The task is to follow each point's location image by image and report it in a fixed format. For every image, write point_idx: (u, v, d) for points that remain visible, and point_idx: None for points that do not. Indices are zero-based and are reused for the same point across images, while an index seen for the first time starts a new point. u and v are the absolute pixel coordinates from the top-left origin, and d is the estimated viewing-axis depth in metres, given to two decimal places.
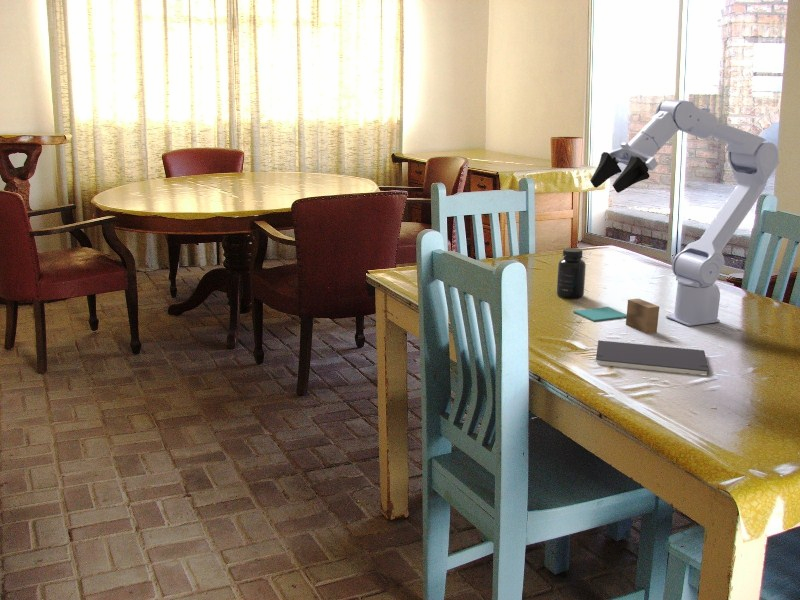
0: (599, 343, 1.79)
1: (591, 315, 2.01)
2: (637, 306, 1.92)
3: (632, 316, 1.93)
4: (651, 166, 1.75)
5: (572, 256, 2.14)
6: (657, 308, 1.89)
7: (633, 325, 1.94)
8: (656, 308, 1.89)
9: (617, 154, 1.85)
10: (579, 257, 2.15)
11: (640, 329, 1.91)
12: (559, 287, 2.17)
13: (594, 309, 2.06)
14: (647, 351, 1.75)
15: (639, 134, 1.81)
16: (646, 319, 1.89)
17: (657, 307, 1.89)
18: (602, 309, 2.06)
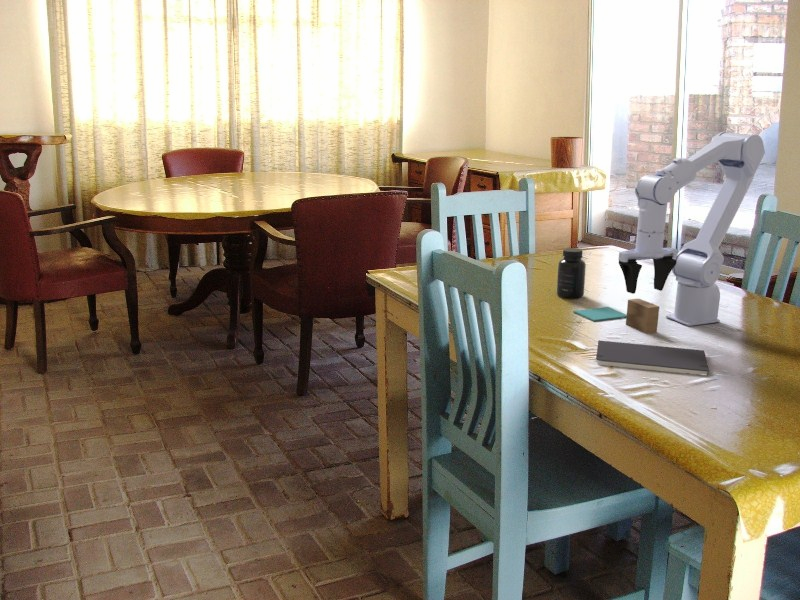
0: (599, 343, 1.79)
1: (591, 315, 2.01)
2: (637, 306, 1.92)
3: (632, 316, 1.93)
4: None
5: (572, 256, 2.14)
6: (657, 308, 1.89)
7: (633, 325, 1.94)
8: (656, 308, 1.89)
9: None
10: (579, 257, 2.15)
11: (640, 329, 1.91)
12: (559, 287, 2.17)
13: (594, 309, 2.06)
14: (647, 351, 1.75)
15: (659, 235, 1.85)
16: (646, 319, 1.89)
17: (657, 307, 1.89)
18: (602, 309, 2.06)
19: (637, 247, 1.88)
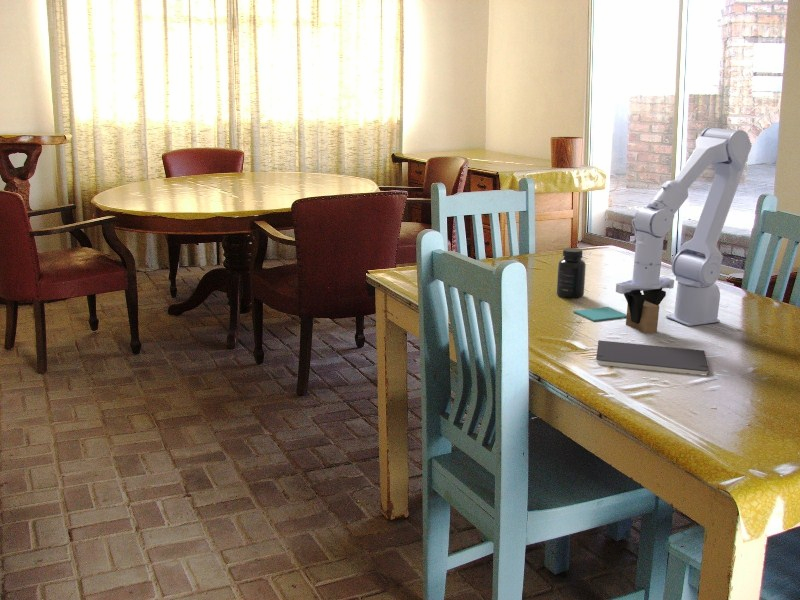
0: (599, 343, 1.79)
1: (591, 315, 2.01)
2: None
3: None
4: None
5: (572, 256, 2.14)
6: (657, 308, 1.89)
7: (633, 325, 1.94)
8: (656, 308, 1.89)
9: None
10: (579, 257, 2.15)
11: (640, 329, 1.91)
12: (559, 287, 2.17)
13: (594, 309, 2.06)
14: (647, 351, 1.75)
15: (655, 267, 1.87)
16: (646, 319, 1.89)
17: (657, 307, 1.89)
18: (602, 309, 2.06)
19: (634, 278, 1.90)
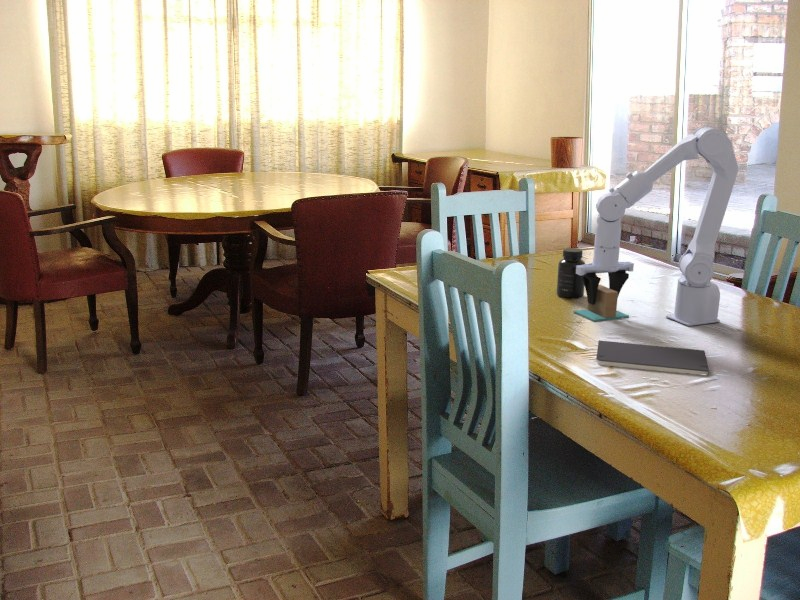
0: (599, 343, 1.79)
1: (591, 315, 2.01)
2: (597, 292, 2.01)
3: None
4: None
5: (572, 256, 2.14)
6: (616, 293, 1.99)
7: (594, 310, 2.03)
8: (615, 294, 1.99)
9: None
10: (579, 257, 2.15)
11: (600, 313, 2.01)
12: (559, 287, 2.17)
13: None
14: (647, 351, 1.75)
15: (613, 250, 1.96)
16: (605, 304, 1.99)
17: (616, 292, 1.99)
18: None
19: (594, 261, 1.99)
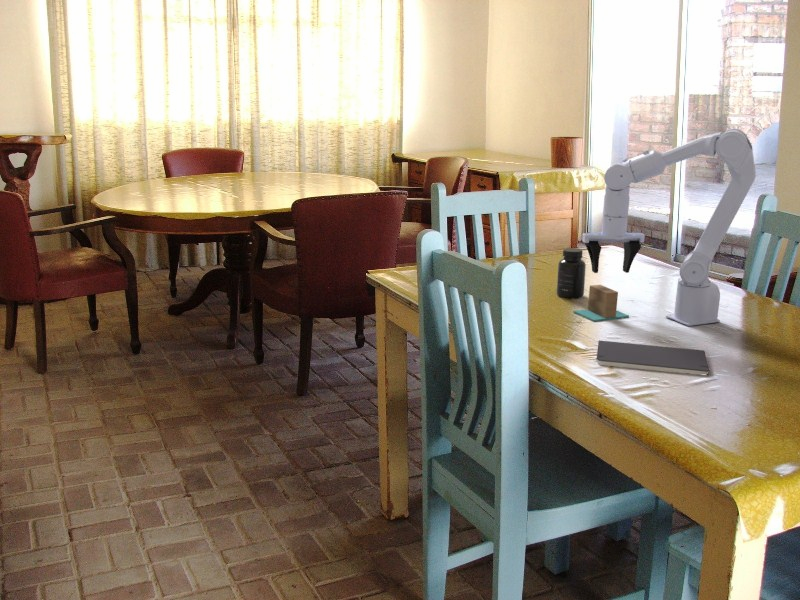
0: (599, 343, 1.79)
1: (591, 315, 2.01)
2: (597, 292, 2.01)
3: (593, 301, 2.03)
4: None
5: (572, 256, 2.14)
6: (616, 293, 1.99)
7: (594, 310, 2.03)
8: (615, 294, 1.99)
9: None
10: (579, 257, 2.15)
11: (600, 313, 2.01)
12: (559, 287, 2.17)
13: None
14: (647, 351, 1.75)
15: (619, 220, 1.99)
16: (605, 304, 1.99)
17: (616, 292, 1.99)
18: None
19: None
